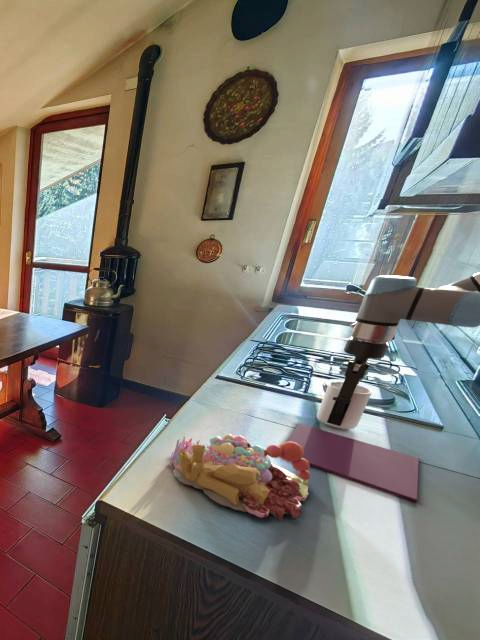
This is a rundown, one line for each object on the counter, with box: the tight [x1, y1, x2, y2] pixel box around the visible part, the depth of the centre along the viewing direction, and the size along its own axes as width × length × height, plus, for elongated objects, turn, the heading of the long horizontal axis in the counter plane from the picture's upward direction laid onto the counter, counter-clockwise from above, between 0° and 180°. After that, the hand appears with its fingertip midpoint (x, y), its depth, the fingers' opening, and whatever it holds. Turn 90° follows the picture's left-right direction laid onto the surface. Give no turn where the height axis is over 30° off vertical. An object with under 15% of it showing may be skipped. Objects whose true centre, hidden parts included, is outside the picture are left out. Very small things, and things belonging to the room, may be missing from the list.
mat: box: [286, 423, 420, 503], centre depth 90 cm, size 22×22×1 cm
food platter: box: [169, 433, 312, 522], centre depth 79 cm, size 25×24×9 cm
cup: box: [316, 381, 373, 430], centre depth 104 cm, size 8×12×10 cm
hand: (337, 416), depth 105 cm, fingers closed on cup, 12 cm apart
